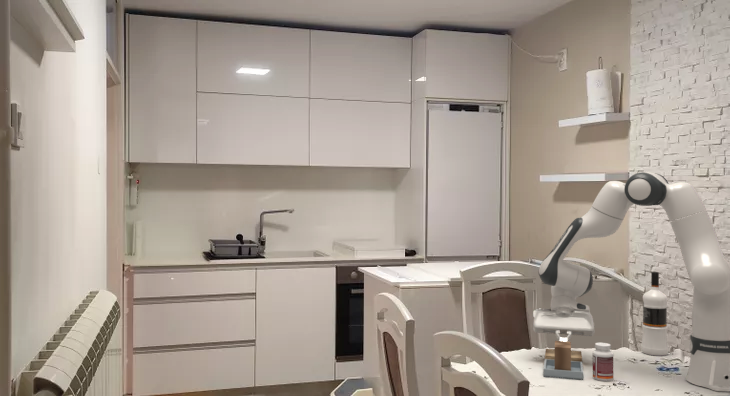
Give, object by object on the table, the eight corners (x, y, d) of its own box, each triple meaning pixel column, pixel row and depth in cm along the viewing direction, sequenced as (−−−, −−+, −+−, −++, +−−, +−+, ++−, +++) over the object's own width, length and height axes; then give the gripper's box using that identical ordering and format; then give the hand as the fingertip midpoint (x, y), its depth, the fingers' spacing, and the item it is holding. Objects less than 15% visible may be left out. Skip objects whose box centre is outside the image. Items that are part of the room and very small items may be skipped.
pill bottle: (617, 379, 199) (617, 344, 199) (605, 382, 196) (605, 347, 196) (600, 374, 204) (600, 341, 204) (588, 378, 201) (588, 343, 201)
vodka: (666, 357, 226) (666, 274, 225) (638, 354, 231) (638, 272, 231) (670, 352, 233) (670, 271, 233) (643, 348, 239) (644, 269, 238)
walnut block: (570, 341, 210) (571, 348, 201) (570, 368, 210) (570, 376, 201) (555, 340, 211) (554, 346, 202) (554, 367, 211) (554, 374, 203)
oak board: (581, 361, 221) (581, 351, 221) (582, 368, 211) (582, 358, 211) (545, 358, 225) (545, 348, 225) (544, 365, 215) (544, 355, 215)
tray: (582, 369, 211) (582, 361, 211) (583, 380, 198) (583, 372, 198) (544, 366, 214) (544, 358, 214) (543, 376, 202) (543, 369, 202)
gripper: (532, 303, 224) (531, 336, 214) (594, 306, 218) (595, 340, 208) (533, 313, 228) (532, 346, 219) (593, 316, 222) (594, 351, 213)
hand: (563, 343), depth 213 cm, fingers closed
